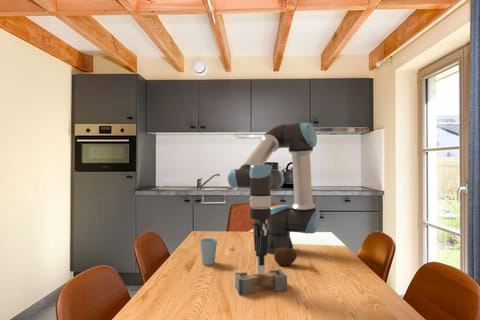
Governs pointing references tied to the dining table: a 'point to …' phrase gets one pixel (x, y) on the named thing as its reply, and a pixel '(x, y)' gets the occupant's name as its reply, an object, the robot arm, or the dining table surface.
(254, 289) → the dark brown block
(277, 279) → the endcap
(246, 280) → the endcap
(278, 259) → the potato
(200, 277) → the dining table surface
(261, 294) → the dining table surface
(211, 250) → the cup
